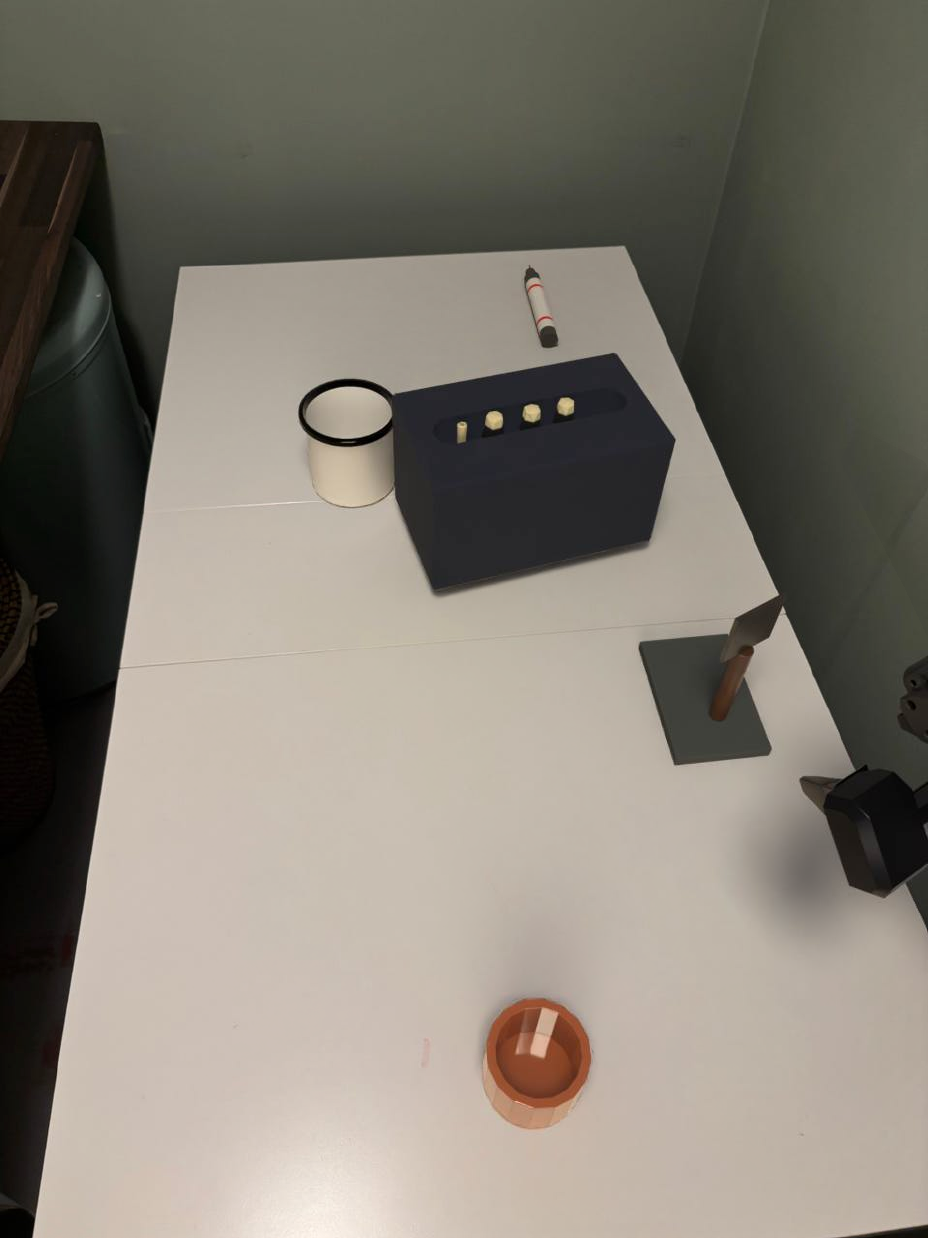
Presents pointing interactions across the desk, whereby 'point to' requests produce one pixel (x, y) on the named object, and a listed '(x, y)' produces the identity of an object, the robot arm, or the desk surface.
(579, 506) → the speaker
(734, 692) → the spatula
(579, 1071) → the crock
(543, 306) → the marker
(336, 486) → the mug
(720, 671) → the mat
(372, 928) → the desk surface
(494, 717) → the desk surface
